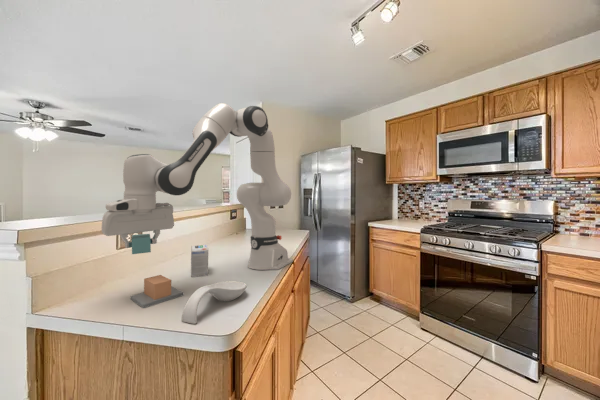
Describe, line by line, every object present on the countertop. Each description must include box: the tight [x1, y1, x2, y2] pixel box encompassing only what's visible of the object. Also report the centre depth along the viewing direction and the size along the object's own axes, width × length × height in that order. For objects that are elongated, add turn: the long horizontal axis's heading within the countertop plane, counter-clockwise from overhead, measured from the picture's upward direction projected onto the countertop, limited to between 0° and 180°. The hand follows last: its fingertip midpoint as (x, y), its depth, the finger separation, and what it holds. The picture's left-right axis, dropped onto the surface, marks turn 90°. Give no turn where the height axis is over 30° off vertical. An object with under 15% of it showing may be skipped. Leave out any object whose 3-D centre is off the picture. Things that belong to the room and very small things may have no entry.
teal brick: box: [131, 233, 152, 255], centre depth 81 cm, size 5×8×5 cm, turn 33°
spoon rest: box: [181, 280, 248, 325], centre depth 75 cm, size 24×12×7 cm, turn 163°
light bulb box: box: [190, 244, 209, 278], centre depth 105 cm, size 11×7×11 cm, turn 23°
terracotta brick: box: [143, 274, 172, 300], centre depth 80 cm, size 5×8×5 cm, turn 52°
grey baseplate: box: [129, 285, 185, 309], centre depth 80 cm, size 12×10×1 cm
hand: (141, 245), depth 81 cm, fingers closed on teal brick, 6 cm apart
